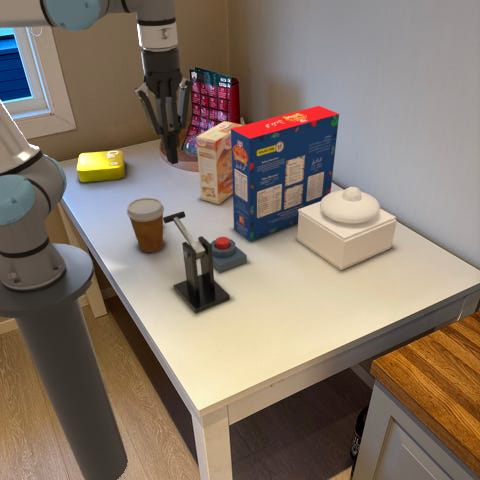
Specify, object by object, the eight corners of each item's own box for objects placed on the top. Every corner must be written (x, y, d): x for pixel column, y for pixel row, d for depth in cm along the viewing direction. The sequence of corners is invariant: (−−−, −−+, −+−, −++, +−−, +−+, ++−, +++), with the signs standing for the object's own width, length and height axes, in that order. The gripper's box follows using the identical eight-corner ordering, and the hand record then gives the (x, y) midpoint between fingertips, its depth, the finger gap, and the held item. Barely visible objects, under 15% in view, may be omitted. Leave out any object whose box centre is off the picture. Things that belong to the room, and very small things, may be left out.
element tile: (81, 165, 171) (78, 151, 168) (124, 161, 173) (122, 147, 170) (79, 183, 160) (75, 169, 157) (125, 179, 162) (122, 165, 159)
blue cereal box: (310, 201, 147) (318, 105, 129) (328, 211, 142) (339, 113, 124) (234, 229, 136) (230, 128, 117) (250, 241, 131) (249, 138, 112)
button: (213, 245, 123) (212, 239, 122) (225, 241, 125) (224, 235, 123) (220, 251, 121) (219, 245, 120) (232, 247, 122) (232, 241, 121)
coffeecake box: (219, 204, 147) (215, 140, 134) (199, 199, 150) (194, 136, 137) (244, 185, 157) (243, 124, 144) (226, 180, 159) (223, 120, 147)
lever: (162, 222, 111) (163, 214, 109) (182, 215, 113) (182, 208, 111) (190, 262, 106) (190, 255, 104) (210, 255, 108) (211, 248, 106)
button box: (200, 254, 127) (199, 241, 124) (226, 244, 130) (225, 231, 127) (219, 272, 120) (219, 259, 118) (246, 262, 123) (246, 249, 121)
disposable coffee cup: (176, 243, 131) (171, 202, 123) (152, 259, 125) (145, 218, 117) (150, 233, 135) (143, 193, 127) (126, 249, 129) (117, 208, 122)
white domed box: (341, 270, 120) (349, 212, 109) (295, 239, 131) (299, 184, 121) (391, 248, 127) (403, 191, 117) (344, 220, 138) (351, 166, 128)
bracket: (173, 288, 116) (166, 238, 107) (206, 276, 119) (202, 227, 110) (195, 313, 109) (190, 262, 100) (230, 299, 112) (227, 248, 103)
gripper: (136, 55, 92) (153, 174, 107) (197, 45, 97) (205, 160, 112) (121, 48, 97) (140, 162, 112) (180, 39, 102) (190, 150, 117)
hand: (172, 161), depth 112 cm, fingers closed
